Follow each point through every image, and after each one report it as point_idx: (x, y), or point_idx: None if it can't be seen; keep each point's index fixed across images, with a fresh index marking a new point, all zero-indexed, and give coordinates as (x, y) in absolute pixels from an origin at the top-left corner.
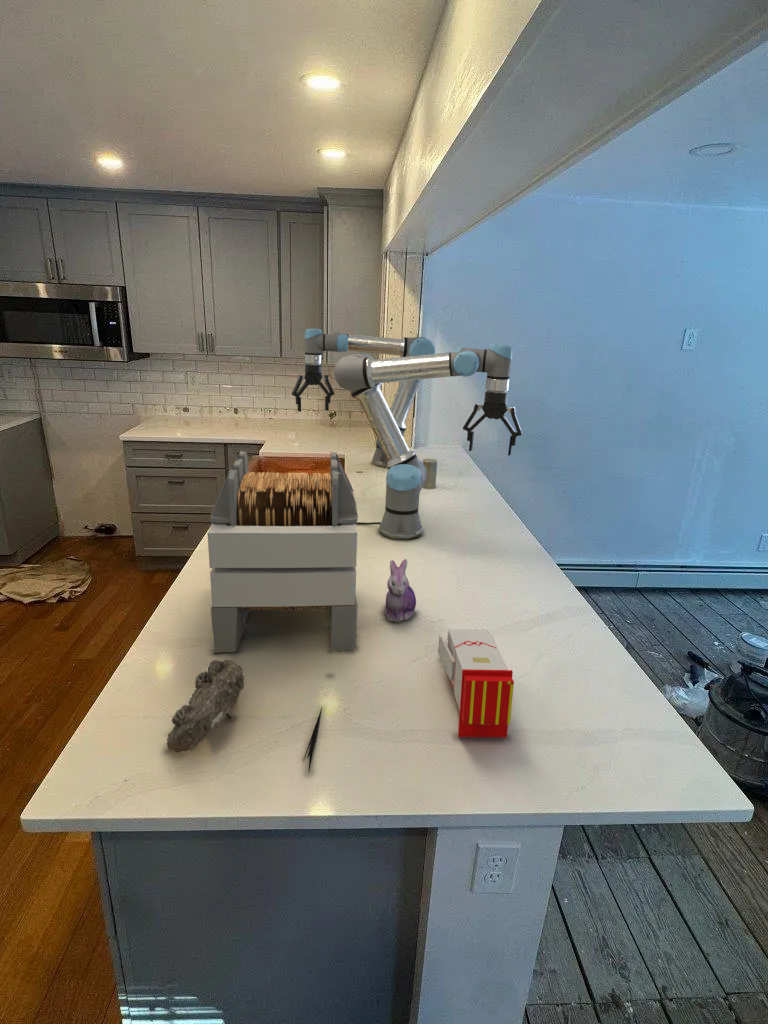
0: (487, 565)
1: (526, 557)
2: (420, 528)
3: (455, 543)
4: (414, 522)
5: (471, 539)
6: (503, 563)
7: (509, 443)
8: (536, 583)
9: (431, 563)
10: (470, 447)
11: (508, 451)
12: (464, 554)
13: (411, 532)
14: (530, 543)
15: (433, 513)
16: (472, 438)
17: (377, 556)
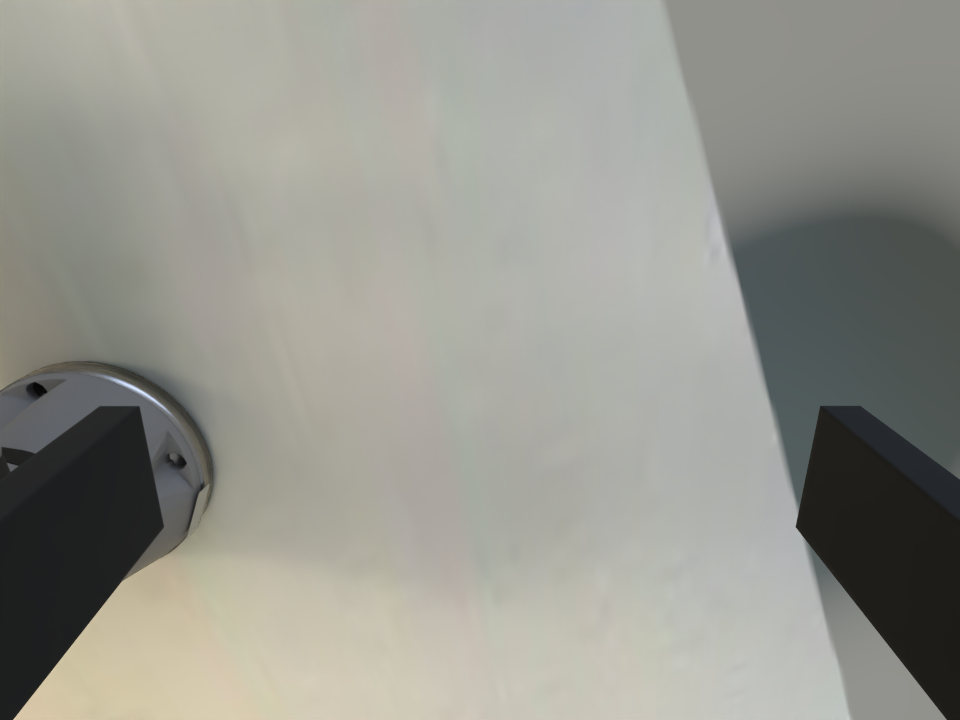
0: (561, 637)
1: (722, 516)
2: (192, 492)
3: (392, 487)
4: (152, 549)
5: (455, 414)
6: (623, 601)
7: (936, 704)
8: (743, 703)
9: (354, 688)
10: (115, 570)
11: (832, 570)
12: (456, 579)
13: (173, 546)
14: (754, 350)
15: (131, 85)
16: (4, 685)
17: (147, 702)
